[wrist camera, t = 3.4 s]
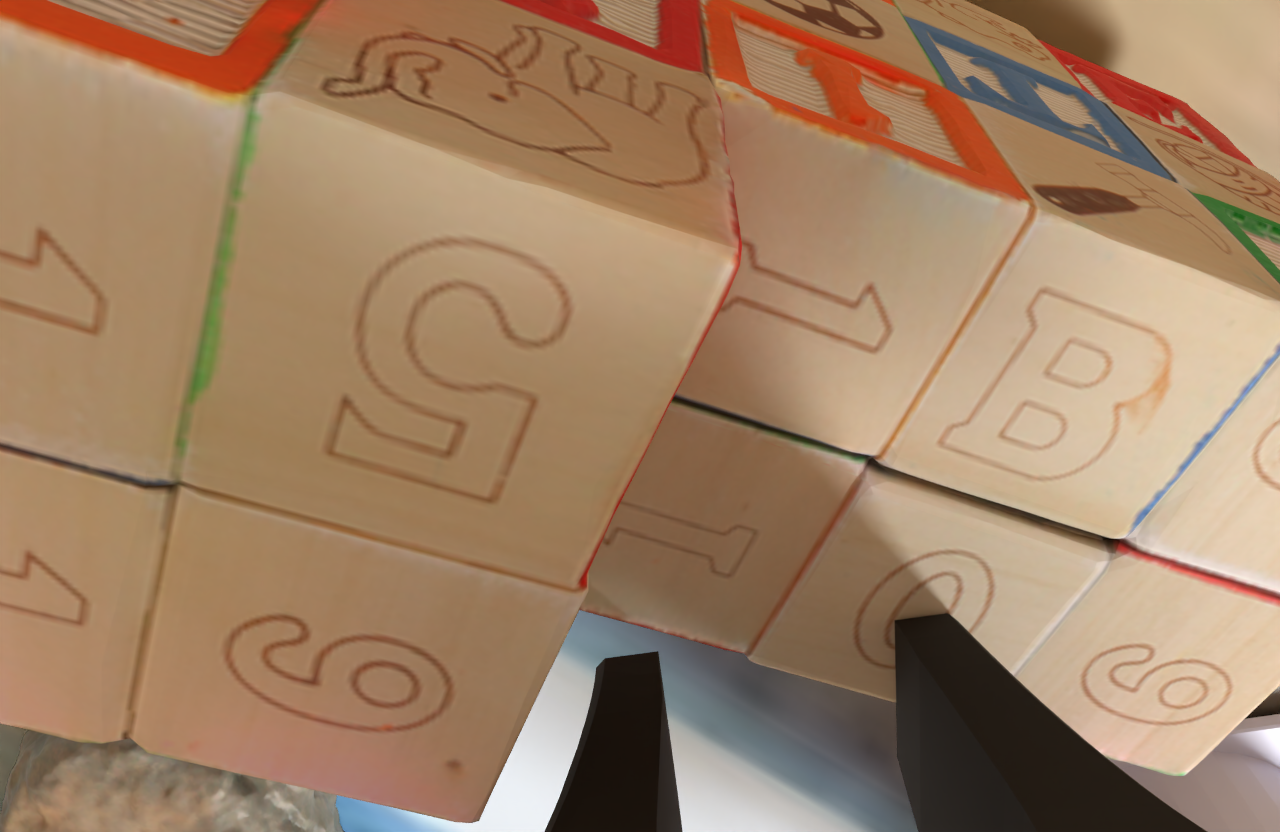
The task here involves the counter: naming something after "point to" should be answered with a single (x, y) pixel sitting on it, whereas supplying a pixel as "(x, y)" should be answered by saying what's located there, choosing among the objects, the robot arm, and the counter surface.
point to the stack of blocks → (613, 370)
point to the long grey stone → (147, 793)
